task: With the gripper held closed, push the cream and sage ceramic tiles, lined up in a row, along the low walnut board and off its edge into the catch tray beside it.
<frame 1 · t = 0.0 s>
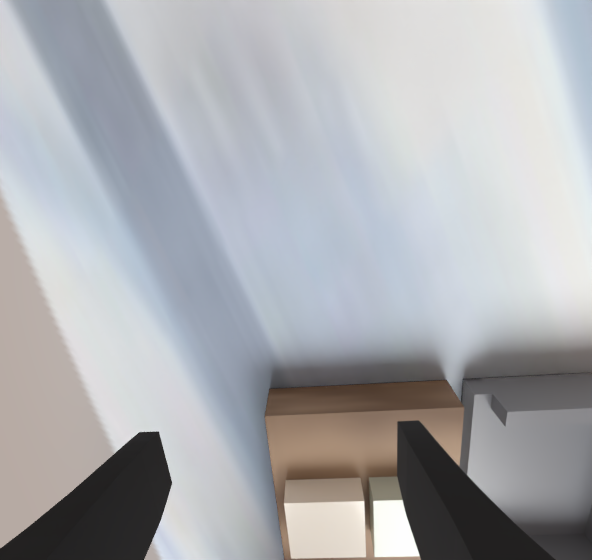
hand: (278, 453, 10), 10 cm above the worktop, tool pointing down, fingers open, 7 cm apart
catch tray: (532, 465, 22), on the worktop
walnut board: (359, 471, 23), on the worktop
cream tile: (325, 506, 21), point 2 cm above the worktop, touching walnut board
sage tile: (406, 504, 21), point 2 cm above the worktop, touching walnut board
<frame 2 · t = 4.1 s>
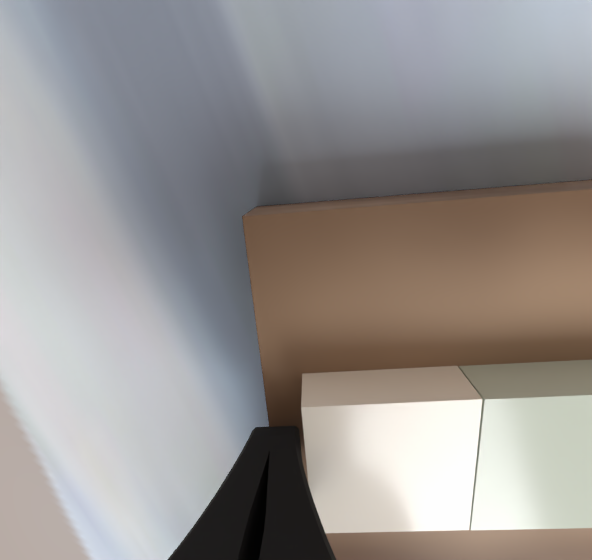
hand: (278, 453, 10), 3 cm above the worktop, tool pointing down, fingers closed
walnut board: (420, 381, 13), on the worktop
cream tile: (379, 431, 11), point 3 cm above the worktop, touching gripper
sage tile: (529, 426, 10), point 2 cm above the worktop, touching walnut board
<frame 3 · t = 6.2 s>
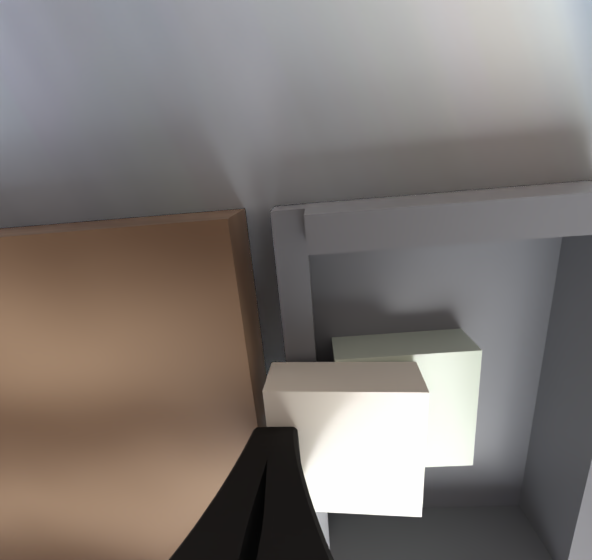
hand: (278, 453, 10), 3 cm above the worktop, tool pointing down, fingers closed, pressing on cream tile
catch tray: (423, 381, 13), on the worktop
walnut board: (133, 395, 14), on the worktop
cream tile: (343, 420, 11), point 2 cm above the worktop, touching gripper, sage tile
sage tile: (395, 387, 12), resting on catch tray, touching cream tile
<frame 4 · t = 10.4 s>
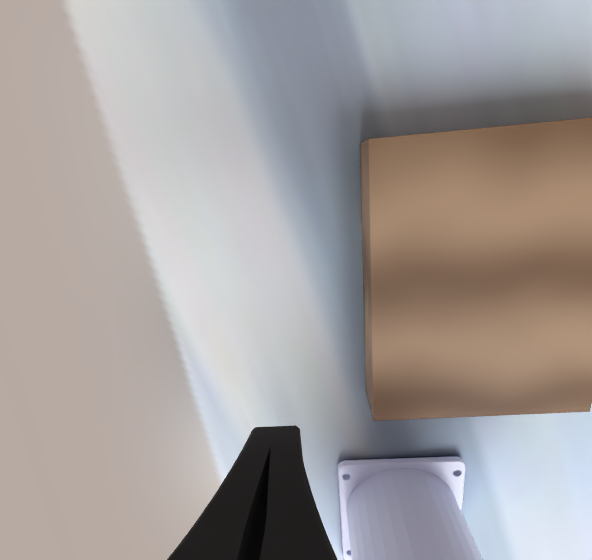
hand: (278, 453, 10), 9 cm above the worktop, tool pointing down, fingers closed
walnut board: (467, 275, 18), on the worktop
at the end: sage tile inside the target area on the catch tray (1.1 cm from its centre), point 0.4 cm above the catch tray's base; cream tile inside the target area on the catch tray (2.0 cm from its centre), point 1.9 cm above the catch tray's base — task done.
